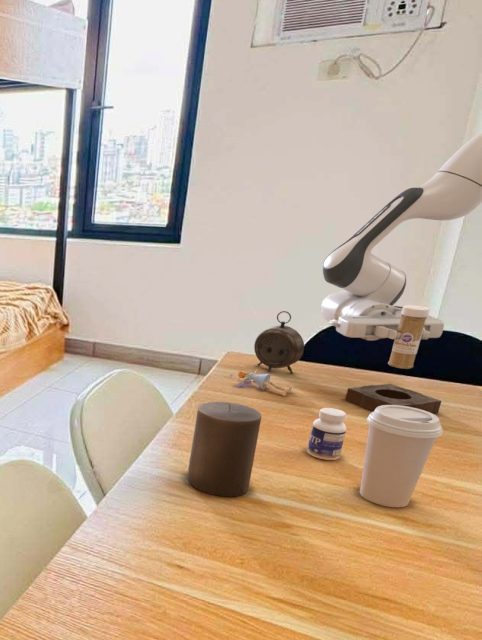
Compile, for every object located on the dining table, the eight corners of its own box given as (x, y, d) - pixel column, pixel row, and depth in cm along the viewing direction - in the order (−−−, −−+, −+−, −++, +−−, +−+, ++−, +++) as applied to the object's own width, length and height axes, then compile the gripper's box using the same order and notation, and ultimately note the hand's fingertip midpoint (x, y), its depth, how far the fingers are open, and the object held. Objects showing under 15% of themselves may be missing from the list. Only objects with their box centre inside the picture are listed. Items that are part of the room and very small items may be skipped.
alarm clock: (299, 373, 165) (312, 313, 159) (289, 377, 162) (302, 316, 156) (257, 364, 173) (268, 306, 168) (247, 367, 170) (257, 309, 165)
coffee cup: (357, 506, 101) (379, 420, 96) (342, 480, 110) (362, 400, 105) (429, 516, 98) (457, 428, 93) (408, 489, 106) (432, 406, 101)
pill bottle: (302, 447, 122) (311, 405, 119) (332, 449, 121) (342, 407, 118) (313, 459, 117) (323, 415, 114) (344, 461, 116) (355, 417, 113)
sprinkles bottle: (389, 367, 138) (404, 307, 133) (386, 362, 142) (401, 303, 137) (415, 370, 136) (432, 309, 131) (411, 364, 139) (428, 305, 135)
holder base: (387, 394, 149) (390, 383, 148) (440, 413, 137) (444, 401, 136) (342, 399, 146) (345, 387, 145) (393, 419, 135) (396, 406, 134)
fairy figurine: (282, 386, 145) (230, 369, 154) (276, 405, 147) (225, 387, 156) (301, 375, 152) (250, 360, 160) (294, 393, 154) (245, 377, 162)
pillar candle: (238, 503, 103) (254, 419, 98) (178, 484, 109) (190, 404, 104) (255, 482, 110) (271, 402, 105) (197, 465, 116) (209, 389, 111)
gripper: (328, 307, 148) (364, 321, 135) (420, 307, 146) (465, 321, 133) (322, 333, 150) (357, 349, 137) (413, 333, 149) (457, 350, 136)
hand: (411, 335), depth 135 cm, fingers closed on sprinkles bottle, 4 cm apart
